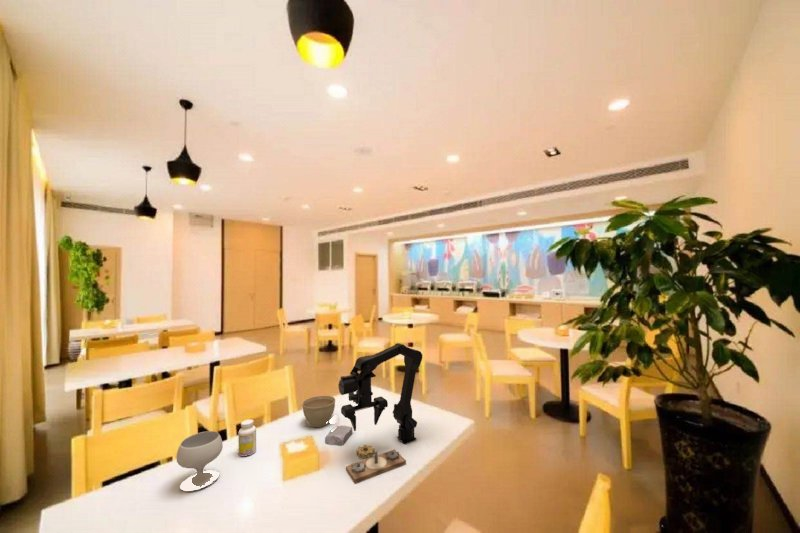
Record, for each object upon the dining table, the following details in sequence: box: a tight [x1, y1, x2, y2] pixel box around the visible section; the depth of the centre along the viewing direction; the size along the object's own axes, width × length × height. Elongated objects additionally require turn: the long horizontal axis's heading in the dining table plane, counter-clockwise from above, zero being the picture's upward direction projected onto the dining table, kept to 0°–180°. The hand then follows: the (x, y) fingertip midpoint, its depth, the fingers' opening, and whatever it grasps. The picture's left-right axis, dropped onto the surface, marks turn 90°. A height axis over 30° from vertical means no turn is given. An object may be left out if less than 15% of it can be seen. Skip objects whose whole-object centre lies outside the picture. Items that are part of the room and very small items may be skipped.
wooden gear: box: [355, 444, 376, 460], centre depth 124 cm, size 7×7×2 cm
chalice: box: [176, 430, 224, 487], centre depth 110 cm, size 14×14×15 cm
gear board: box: [345, 449, 407, 485], centre depth 115 cm, size 21×9×6 cm, turn 120°
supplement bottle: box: [237, 419, 257, 457], centre depth 127 cm, size 7×7×13 cm
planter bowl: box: [301, 395, 336, 428], centre depth 152 cm, size 16×16×11 cm
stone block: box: [324, 425, 353, 446], centre depth 137 cm, size 12×5×10 cm
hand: (365, 427), depth 124 cm, fingers open, 9 cm apart
